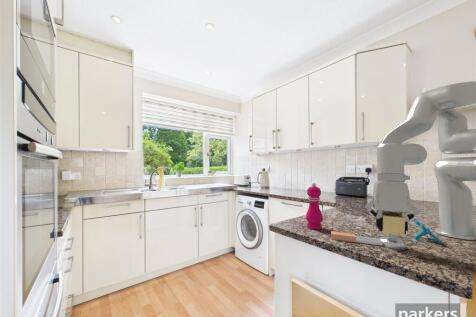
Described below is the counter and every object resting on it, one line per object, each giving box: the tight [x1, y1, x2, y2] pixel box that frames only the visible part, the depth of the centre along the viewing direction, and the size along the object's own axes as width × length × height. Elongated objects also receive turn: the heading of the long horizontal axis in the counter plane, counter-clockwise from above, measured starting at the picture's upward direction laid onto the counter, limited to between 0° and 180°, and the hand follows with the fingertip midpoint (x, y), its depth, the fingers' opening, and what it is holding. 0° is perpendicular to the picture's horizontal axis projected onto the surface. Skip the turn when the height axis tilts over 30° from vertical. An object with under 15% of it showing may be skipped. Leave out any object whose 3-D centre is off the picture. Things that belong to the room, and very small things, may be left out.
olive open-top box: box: [381, 211, 406, 237], centre depth 69 cm, size 6×6×6 cm
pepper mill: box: [305, 182, 324, 231], centre depth 90 cm, size 7×7×20 cm
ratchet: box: [330, 230, 406, 251], centre depth 73 cm, size 22×7×6 cm, turn 66°
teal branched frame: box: [412, 218, 442, 244], centre depth 76 cm, size 11×6×10 cm
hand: (391, 230), depth 69 cm, fingers closed on olive open-top box, 5 cm apart
